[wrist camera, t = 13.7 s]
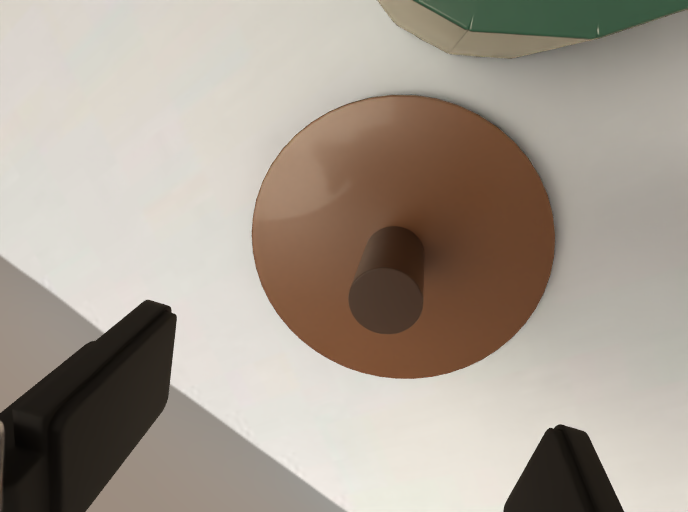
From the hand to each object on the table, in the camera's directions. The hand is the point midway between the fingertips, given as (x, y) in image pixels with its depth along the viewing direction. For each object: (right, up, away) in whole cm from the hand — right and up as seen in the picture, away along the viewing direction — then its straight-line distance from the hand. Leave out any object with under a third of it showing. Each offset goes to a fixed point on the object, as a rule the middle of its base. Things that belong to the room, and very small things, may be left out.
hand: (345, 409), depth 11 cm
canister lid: (+2, +4, +11) cm, 12 cm away
